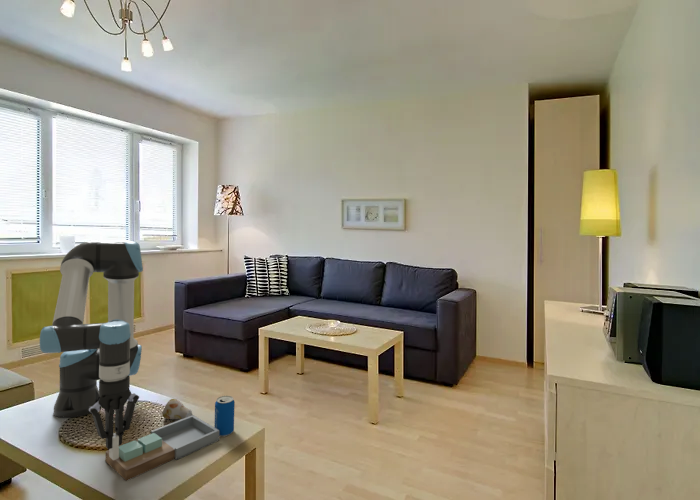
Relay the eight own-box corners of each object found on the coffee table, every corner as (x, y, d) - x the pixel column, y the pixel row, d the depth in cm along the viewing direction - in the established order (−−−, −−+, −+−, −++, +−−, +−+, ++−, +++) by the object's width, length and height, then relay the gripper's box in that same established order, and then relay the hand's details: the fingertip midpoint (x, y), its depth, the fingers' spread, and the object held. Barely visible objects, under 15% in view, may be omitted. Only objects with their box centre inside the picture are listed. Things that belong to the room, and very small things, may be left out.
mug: (188, 425, 142) (173, 403, 140) (168, 432, 145) (153, 410, 143) (199, 411, 149) (185, 390, 147) (180, 418, 152) (166, 397, 150)
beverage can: (210, 432, 137) (211, 398, 137) (227, 426, 142) (228, 393, 142) (220, 439, 133) (221, 405, 132) (237, 433, 138) (238, 399, 137)
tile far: (137, 446, 122) (137, 439, 121) (153, 440, 126) (154, 432, 125) (145, 453, 119) (145, 445, 118) (161, 446, 123) (162, 438, 122)
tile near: (117, 455, 117) (117, 446, 117) (134, 448, 121) (135, 440, 121) (124, 461, 114) (125, 453, 114) (142, 454, 118) (142, 446, 118)
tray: (150, 441, 130) (150, 430, 130) (192, 424, 142) (193, 414, 142) (176, 460, 121) (176, 449, 121) (219, 440, 133) (219, 430, 132)
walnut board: (105, 461, 119) (105, 451, 119) (152, 442, 130) (152, 433, 130) (126, 480, 110) (126, 470, 110) (174, 458, 121) (174, 449, 121)
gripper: (94, 387, 105) (93, 473, 107) (144, 374, 115) (143, 452, 117) (83, 379, 110) (83, 462, 111) (132, 367, 120) (131, 443, 121)
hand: (113, 457), depth 114 cm, fingers closed
